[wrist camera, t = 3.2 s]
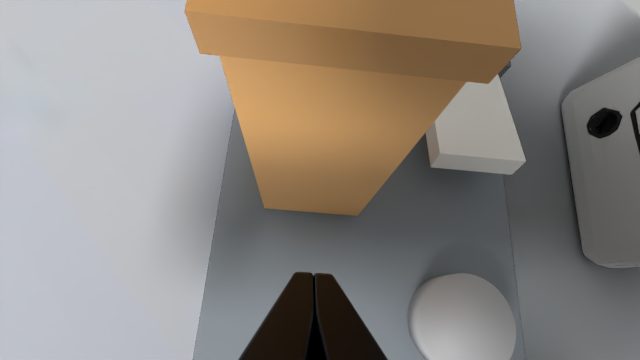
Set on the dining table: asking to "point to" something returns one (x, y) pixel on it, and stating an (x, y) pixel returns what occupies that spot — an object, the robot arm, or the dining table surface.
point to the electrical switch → (606, 164)
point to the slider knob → (345, 84)
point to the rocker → (476, 132)
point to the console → (372, 261)
